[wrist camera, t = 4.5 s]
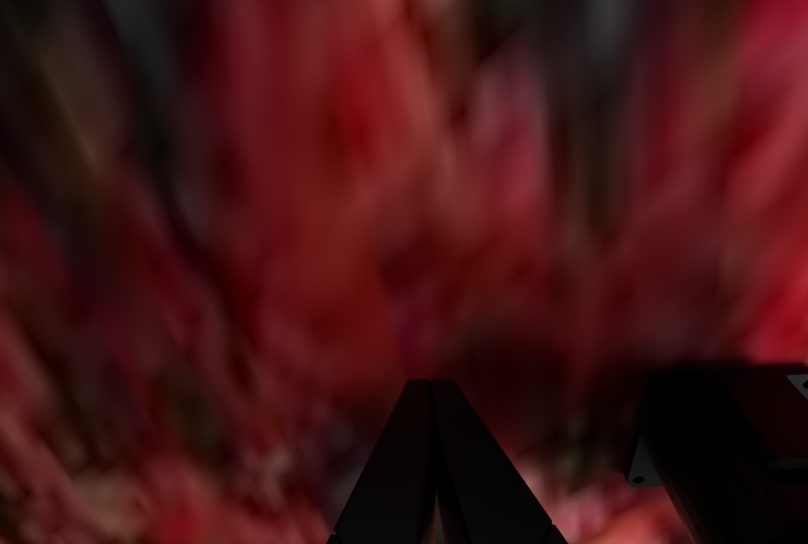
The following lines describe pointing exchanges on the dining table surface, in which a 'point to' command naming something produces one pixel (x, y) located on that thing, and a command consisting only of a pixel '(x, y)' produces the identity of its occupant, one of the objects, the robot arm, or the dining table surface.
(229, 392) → the dining table surface
